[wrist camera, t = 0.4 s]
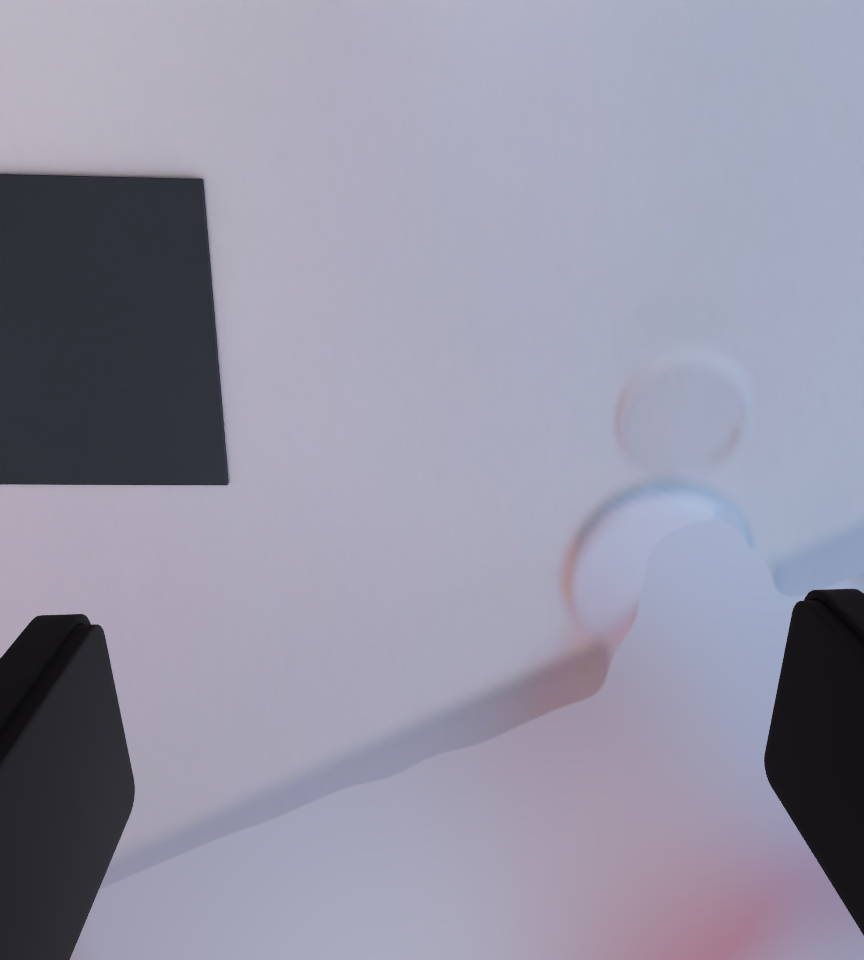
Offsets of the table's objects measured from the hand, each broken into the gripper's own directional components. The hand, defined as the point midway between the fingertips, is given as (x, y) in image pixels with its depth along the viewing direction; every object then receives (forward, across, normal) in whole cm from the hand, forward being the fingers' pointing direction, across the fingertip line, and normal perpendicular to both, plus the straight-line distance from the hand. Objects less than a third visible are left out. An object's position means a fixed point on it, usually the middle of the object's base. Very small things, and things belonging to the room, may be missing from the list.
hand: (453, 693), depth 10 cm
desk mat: (+37, +21, +2) cm, 42 cm away
